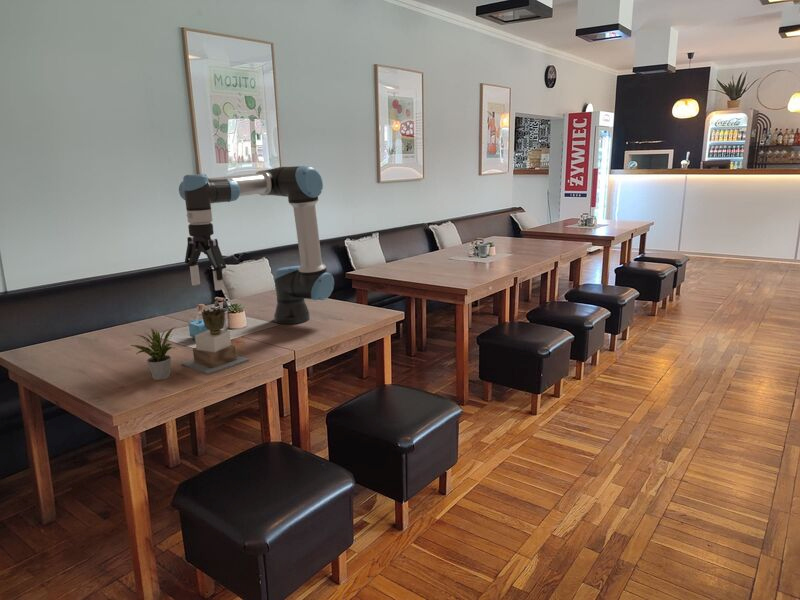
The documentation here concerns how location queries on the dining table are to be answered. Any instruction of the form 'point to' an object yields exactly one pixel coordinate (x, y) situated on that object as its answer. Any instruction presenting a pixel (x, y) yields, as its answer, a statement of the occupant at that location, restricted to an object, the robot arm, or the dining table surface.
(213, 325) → the olive green rounded piece
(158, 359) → the house plant
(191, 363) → the felt mat
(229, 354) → the block base
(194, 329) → the blue sponge
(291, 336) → the dining table surface
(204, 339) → the block top
